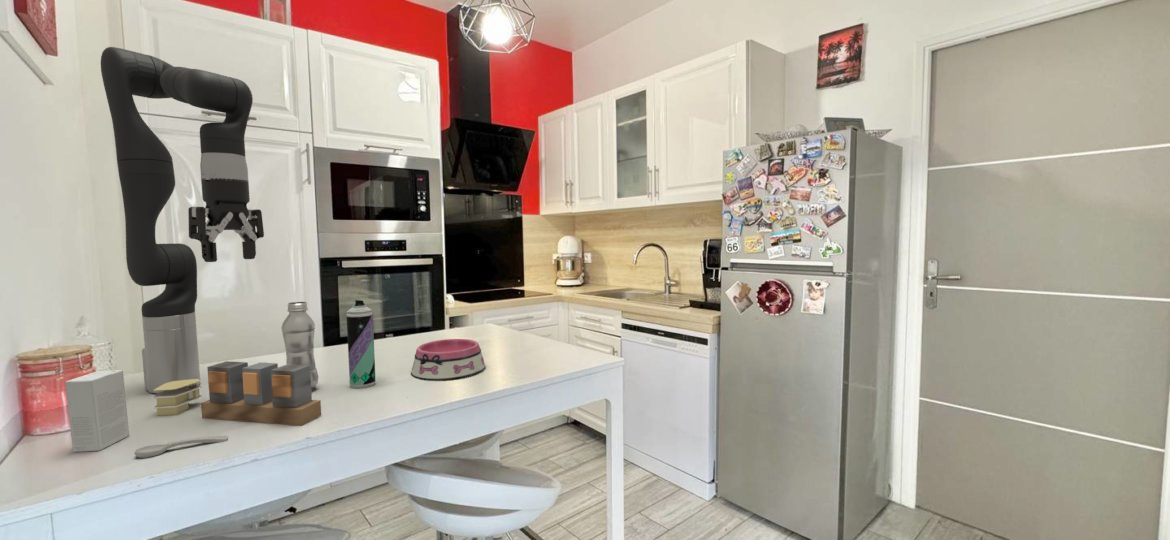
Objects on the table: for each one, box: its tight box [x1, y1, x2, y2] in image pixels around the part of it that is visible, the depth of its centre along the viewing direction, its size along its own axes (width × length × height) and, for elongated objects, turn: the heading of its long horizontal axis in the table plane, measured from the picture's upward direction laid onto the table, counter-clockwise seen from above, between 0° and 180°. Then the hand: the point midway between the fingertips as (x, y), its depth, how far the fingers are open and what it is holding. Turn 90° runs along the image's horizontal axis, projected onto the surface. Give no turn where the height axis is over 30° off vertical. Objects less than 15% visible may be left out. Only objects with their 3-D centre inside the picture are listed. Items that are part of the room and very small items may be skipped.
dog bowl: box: [410, 338, 486, 382], centre depth 124 cm, size 18×19×7 cm
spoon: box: [134, 434, 229, 459], centre depth 80 cm, size 3×12×2 cm, turn 125°
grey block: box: [242, 362, 279, 405], centre depth 93 cm, size 4×4×7 cm
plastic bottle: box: [281, 301, 319, 390], centre depth 108 cm, size 6×7×20 cm
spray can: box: [346, 299, 376, 389], centre depth 112 cm, size 6×6×20 cm
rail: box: [200, 360, 322, 427], centre depth 93 cm, size 22×5×10 cm, turn 80°
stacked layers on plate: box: [152, 379, 203, 417], centre depth 98 cm, size 10×9×6 cm
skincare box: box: [64, 369, 130, 453], centre depth 81 cm, size 6×4×12 cm
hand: (230, 260), depth 96 cm, fingers open, 8 cm apart
